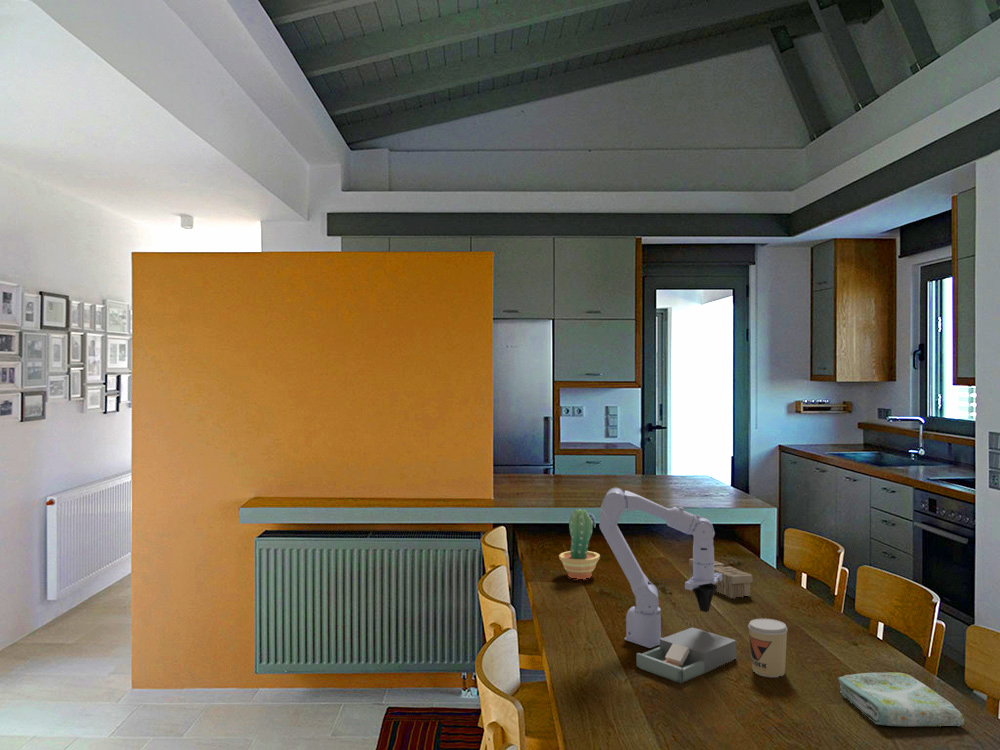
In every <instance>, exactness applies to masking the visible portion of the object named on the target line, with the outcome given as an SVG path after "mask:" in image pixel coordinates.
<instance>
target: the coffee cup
mask: <svg viewBox="0 0 1000 750" xmlns="http://www.w3.org/2000/svg"><path fill="white" fill-rule="evenodd" d="M747 627H748V631H749V633H748V634H749V644H750V646H749V647H750V658H751V667H752V671H753V672H755V673H754V674H756V675H758V676H762V677H766V678H780V677H779V676H781V677H783V676H784V675H785V673H786V672H785V671H786V661H787V660H786V658H787V643H788V642H787V639H788V638H787V637H788V636H787V635H788V627H787V625H786V623H784V622H782V621H781V620H777V619H772V618H755V619H752V620H750V621H749V623H748V626H747Z"/></svg>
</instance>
